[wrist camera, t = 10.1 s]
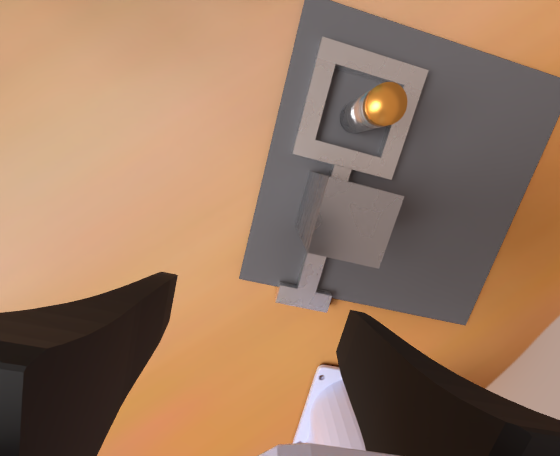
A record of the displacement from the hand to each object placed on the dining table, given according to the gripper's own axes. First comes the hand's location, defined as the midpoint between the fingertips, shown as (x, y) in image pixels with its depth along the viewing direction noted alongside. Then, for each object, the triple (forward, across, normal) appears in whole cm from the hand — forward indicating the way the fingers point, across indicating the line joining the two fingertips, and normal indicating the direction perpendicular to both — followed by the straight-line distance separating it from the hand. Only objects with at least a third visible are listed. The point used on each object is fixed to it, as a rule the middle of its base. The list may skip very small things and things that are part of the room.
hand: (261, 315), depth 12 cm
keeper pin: (+10, -4, -10) cm, 14 cm away
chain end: (+10, -4, -4) cm, 11 cm away
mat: (+10, -8, -6) cm, 15 cm away
